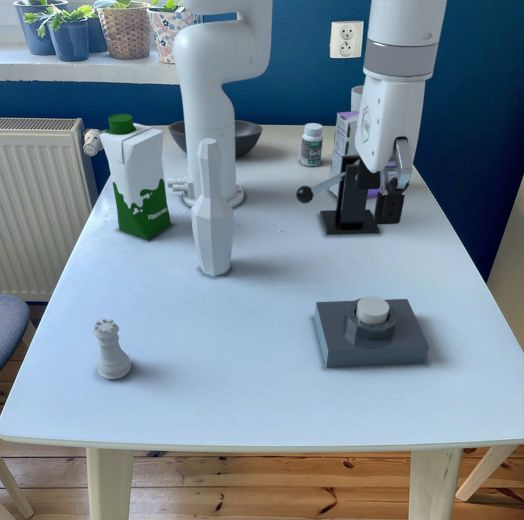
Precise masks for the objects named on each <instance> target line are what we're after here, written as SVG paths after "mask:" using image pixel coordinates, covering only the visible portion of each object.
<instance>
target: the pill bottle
mask: <svg viewBox="0 0 524 520" xmlns="http://www.w3.org/2000/svg"><path fill="white" fill-rule="evenodd" d="M322 133H323V125H322V124H320V123H316V122H310V123H309V122H308V123H306V124H304V133H303V134H302V136H301V149H300V150H301V151H300V163H301V164H302V165H303V166H307V167H316V166H319V165H320V164H321V162H322V151H323V141H324V136H323V134H322Z"/></svg>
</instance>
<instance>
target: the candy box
mask: <svg viewBox="0 0 524 520" xmlns="http://www.w3.org/2000/svg"><path fill="white" fill-rule="evenodd" d="M358 116H359V111H351V110H350V111H342V112H336V119H335V128H334V136H333V137H334V139H333V148H332V158H331V168H330V178H332V177H335V176H337V175H339V174H340V170H341V162H342V156H351V155H359V153H358V151H357V149H356V147H355V135H356V129H357V122H358ZM386 166H397V165H396V163H392V164H386ZM330 178H329V179H330ZM392 178H396V174H388V183H389V182H390V181H391V179H392ZM338 188H339V183H337V184H335V185H333V186H331V187H329V188H328V189H329V190H328V191H330V193H332V195H333V196H334V197H335V198H336V199H337V196H338ZM378 192H381V184H380V188H379V189H369V190H368V196H367V198H368V197H369V198H370V197H375V196H376V197H377V193H378Z"/></svg>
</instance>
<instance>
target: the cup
mask: <svg viewBox="0 0 524 520" xmlns="http://www.w3.org/2000/svg"><path fill="white" fill-rule="evenodd" d="M363 88H364V85H357V86H354V87H352V88H351V94H350V95H351V98H350V105H351V107H350V112H351V111H359V110H360V104H361V98H362V93H363Z"/></svg>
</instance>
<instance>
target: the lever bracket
mask: <svg viewBox="0 0 524 520" xmlns="http://www.w3.org/2000/svg"><path fill="white" fill-rule="evenodd" d="M359 159H362V158H360V155H351V156H342V162H341V170H340V174H341V173H343V172H345V171H346V173H345V180H343V181H341V182H339V188H338V196H337V198H336V206H335V209H332V210H331V209H330V210H328V209H327V210H326V209H325V210H319V217H320V220H321V222H322V226H323V229H324V233H325V235H326V236H334V235H335V236H336V235H337V236H339V235H375V234H379V233H380V228H379V226H378V225H376V224H375V223H374V221H373V219H374V214H373V213H372V212H371V209H370V208H369V209H368V208H367V202H368V197H367V196H368V190H369V189H366V190H358V189H357V187H356V182H357V174H358V166H359V165H348V164H350V163H352V162H355V161H357V160H359ZM345 166H346V167H345ZM366 208H367V209H366Z"/></svg>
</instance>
